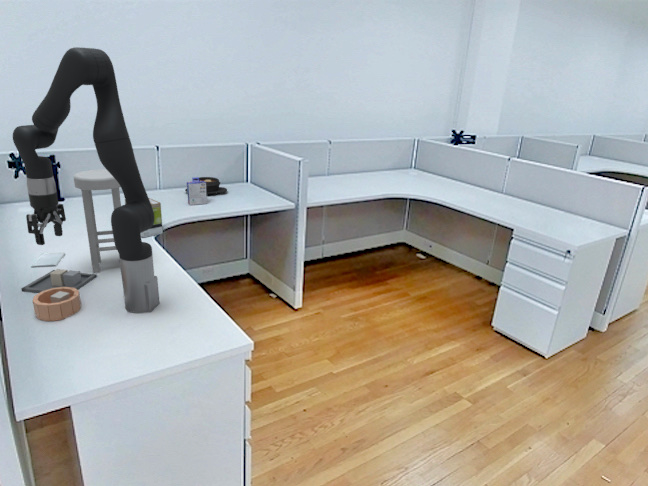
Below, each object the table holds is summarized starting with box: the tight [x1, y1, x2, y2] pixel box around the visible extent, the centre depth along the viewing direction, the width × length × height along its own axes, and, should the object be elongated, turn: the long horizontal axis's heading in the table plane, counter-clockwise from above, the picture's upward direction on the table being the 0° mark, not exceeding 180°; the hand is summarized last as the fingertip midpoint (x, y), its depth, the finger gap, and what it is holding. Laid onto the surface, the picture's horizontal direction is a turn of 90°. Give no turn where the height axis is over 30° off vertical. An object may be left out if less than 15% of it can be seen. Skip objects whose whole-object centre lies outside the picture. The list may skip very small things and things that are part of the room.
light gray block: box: [63, 270, 82, 288], centre depth 150 cm, size 4×4×4 cm
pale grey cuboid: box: [50, 291, 70, 303], centre depth 135 cm, size 4×4×4 cm
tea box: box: [124, 197, 163, 238], centre depth 202 cm, size 15×10×15 cm, turn 47°
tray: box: [20, 269, 98, 294], centre depth 152 cm, size 16×15×1 cm
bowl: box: [32, 287, 82, 322], centre depth 135 cm, size 12×12×5 cm
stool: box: [73, 168, 122, 274], centre depth 162 cm, size 16×16×35 cm
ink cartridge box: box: [186, 177, 208, 206], centre depth 249 cm, size 10×6×14 cm, turn 118°
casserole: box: [184, 176, 228, 196], centre depth 273 cm, size 25×19×8 cm
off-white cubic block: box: [50, 268, 69, 287], centre depth 151 cm, size 4×4×4 cm
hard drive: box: [30, 252, 66, 268], centre depth 169 cm, size 2×8×12 cm
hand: (50, 240), depth 145 cm, fingers open, 8 cm apart
